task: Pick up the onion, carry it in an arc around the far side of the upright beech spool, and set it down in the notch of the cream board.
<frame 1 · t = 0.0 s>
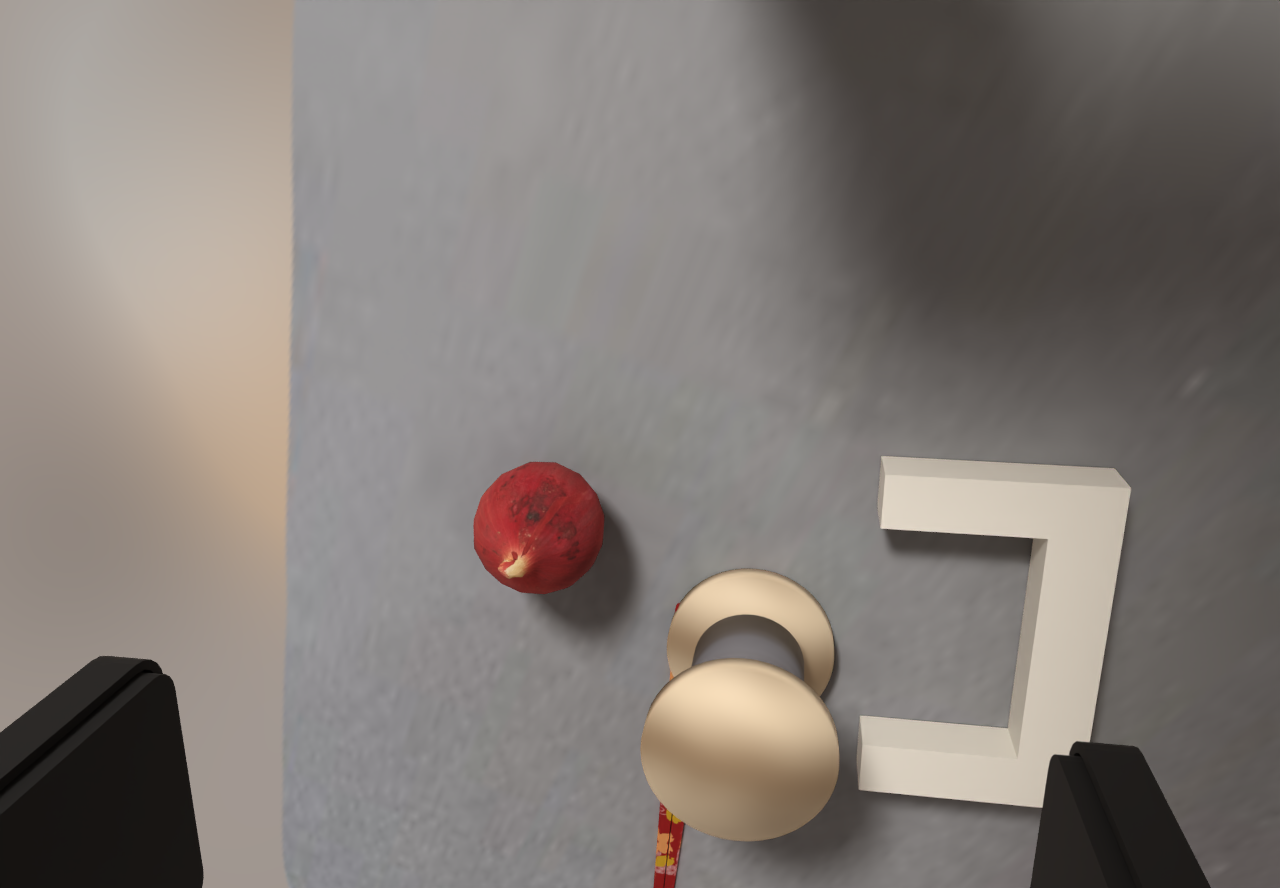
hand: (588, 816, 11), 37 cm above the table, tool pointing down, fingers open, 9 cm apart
notch board: (977, 623, 49), on the table
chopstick: (677, 802, 55), on the table
spool: (750, 643, 51), on the table
onion: (559, 496, 50), on the table
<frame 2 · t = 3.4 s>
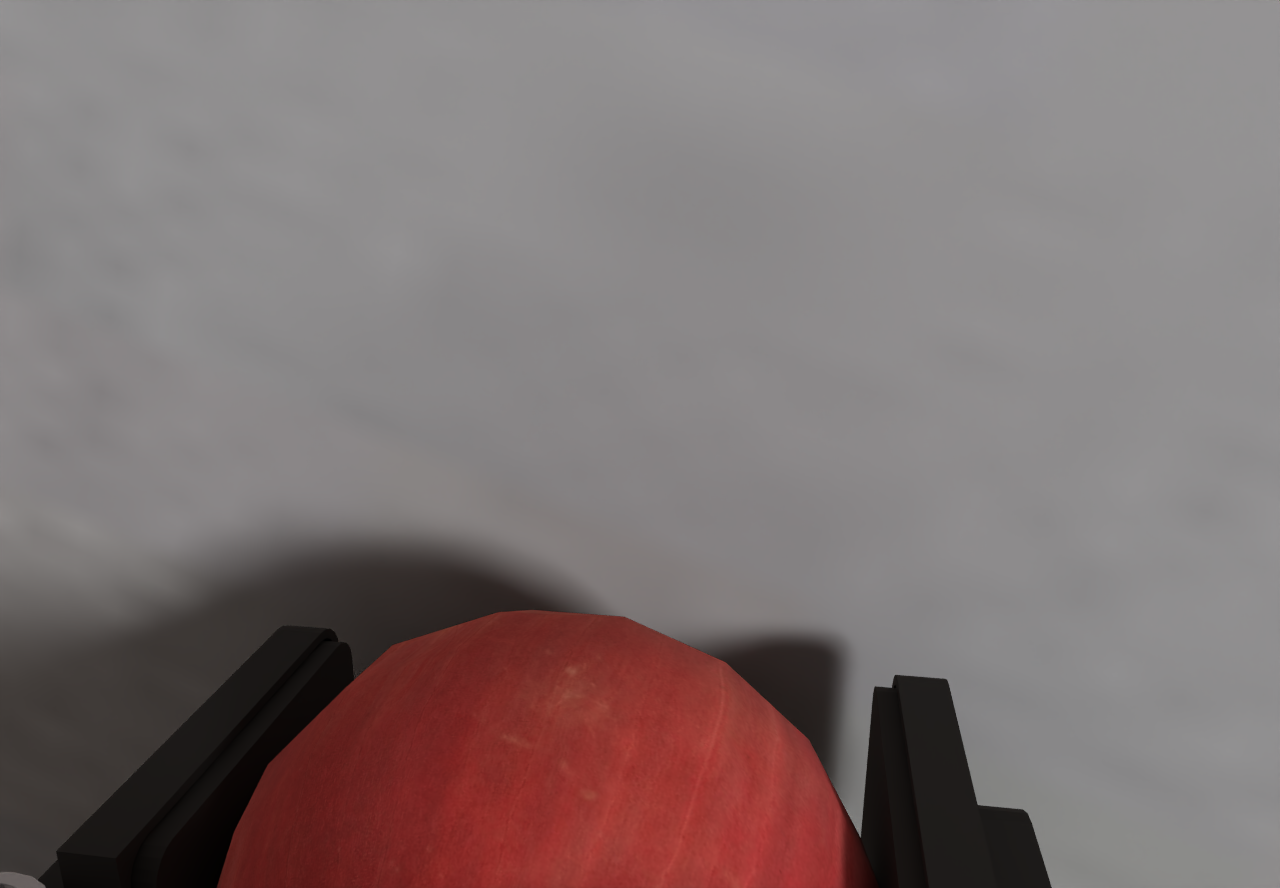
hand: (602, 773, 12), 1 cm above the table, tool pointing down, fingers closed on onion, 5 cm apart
onion: (623, 705, 13), on the table, touching gripper
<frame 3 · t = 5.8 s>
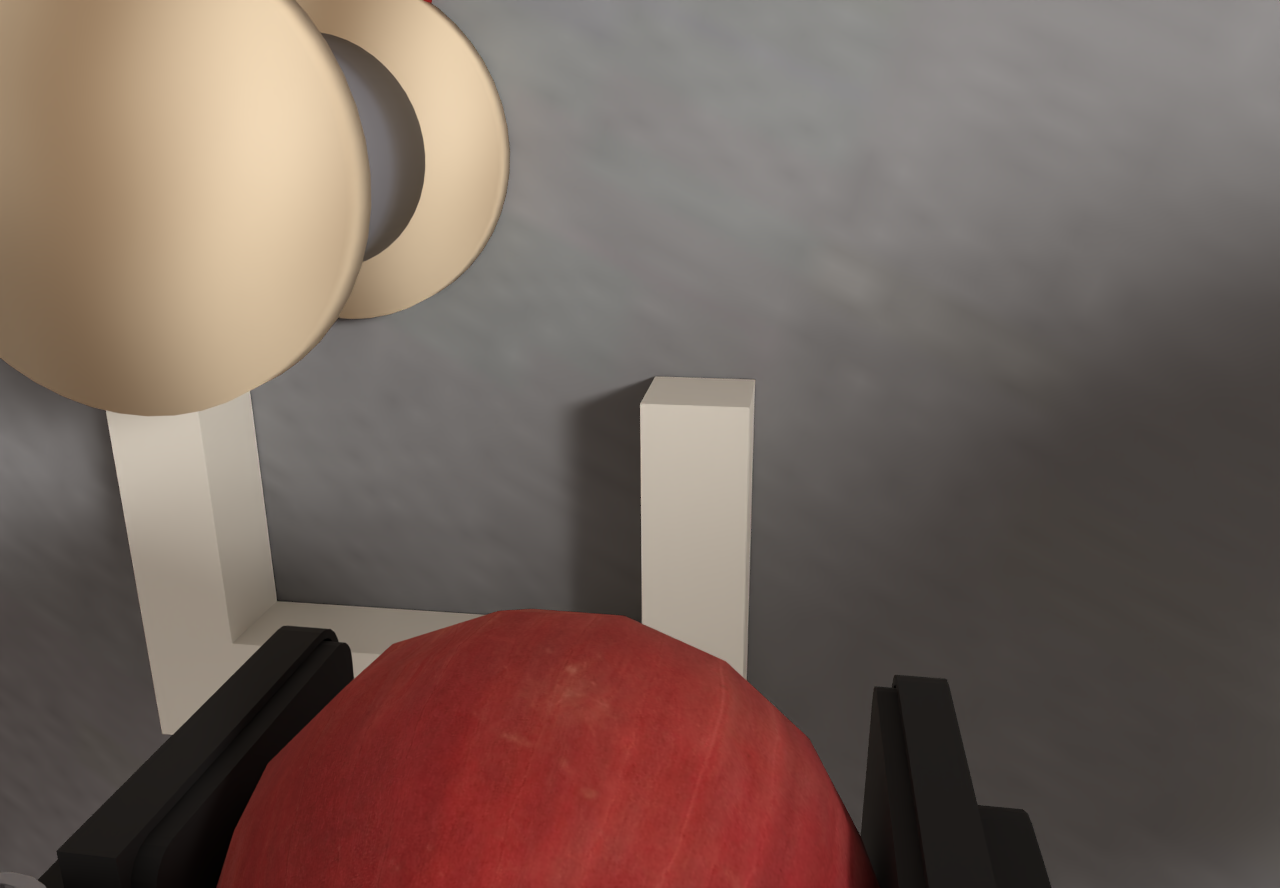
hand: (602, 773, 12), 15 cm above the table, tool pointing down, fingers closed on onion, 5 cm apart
notch board: (456, 547, 29), on the table
spool: (351, 149, 26), on the table
onion: (623, 704, 13), point 14 cm above the table, touching gripper
when the fingers open (3 cm above the table, at t = 8.5 s): onion drops 2 cm, on the table.
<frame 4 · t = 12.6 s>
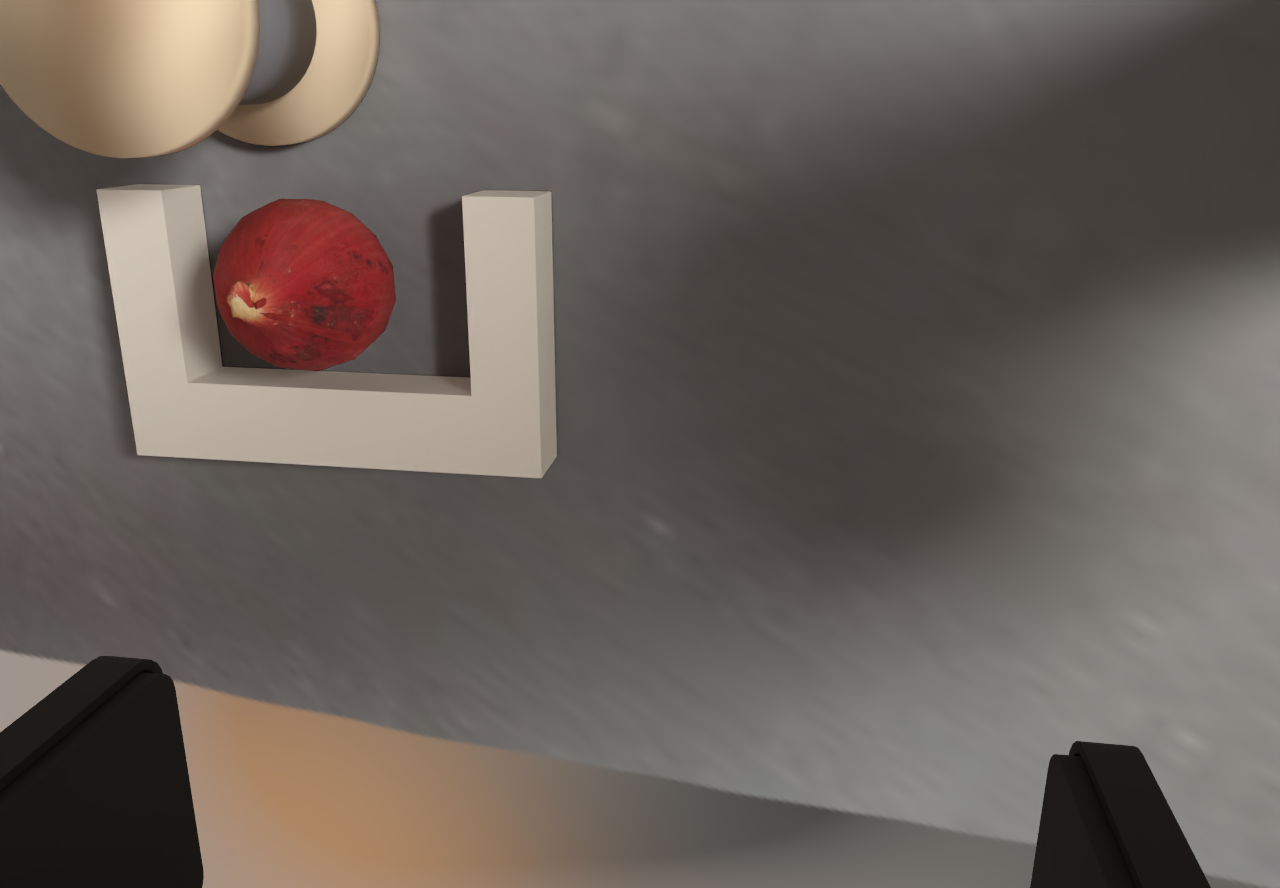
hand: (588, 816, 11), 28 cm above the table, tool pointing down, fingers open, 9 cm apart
notch board: (350, 321, 40), on the table
spool: (271, 27, 37), on the table
onion: (352, 268, 40), on the table
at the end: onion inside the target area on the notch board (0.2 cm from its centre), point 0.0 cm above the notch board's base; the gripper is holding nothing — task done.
